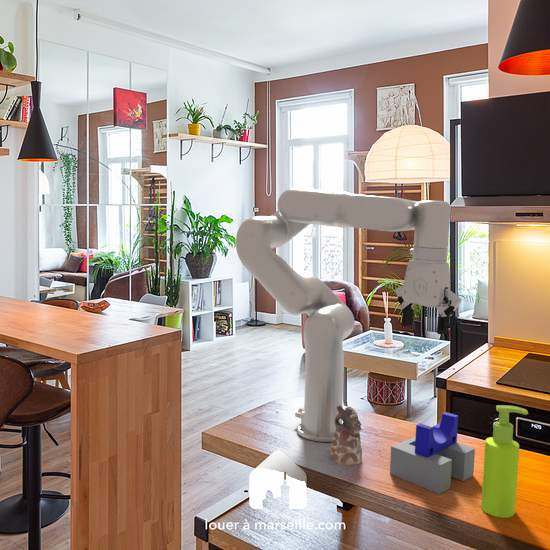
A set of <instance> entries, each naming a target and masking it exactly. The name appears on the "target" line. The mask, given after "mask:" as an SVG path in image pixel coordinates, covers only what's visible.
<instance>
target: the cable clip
mask: <svg viewBox="0 0 550 550" xmlns="http://www.w3.org/2000/svg"><path fill="white" fill-rule="evenodd" d="M458 424H459V415H457V414H454V413H451V412H450V413H449V412H446V411H444V412H443V413H441V420H440V423H437V424H434V425H432V426H430V425H426V424H424V423H420V422H419V423H418V424H416V425H415V436H416V439H415V453H416V454H418V455H421V456H424V457H427V458H428V457H430V456H432V455H434V454H436V453H438V452H440V451H442V450H443V449H445V448H447V447H449V446H451V445H453V444H455V443H458V431H459V429H458V428H459V427H458V426H459V425H458Z"/></svg>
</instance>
